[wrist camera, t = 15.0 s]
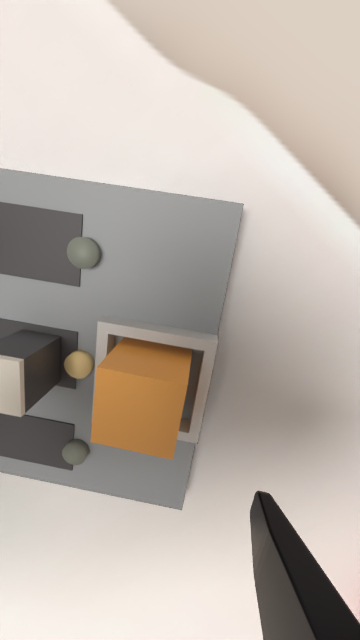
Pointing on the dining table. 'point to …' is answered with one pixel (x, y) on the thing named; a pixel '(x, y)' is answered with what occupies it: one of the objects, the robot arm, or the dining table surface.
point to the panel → (108, 316)
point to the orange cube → (141, 397)
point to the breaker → (27, 370)
